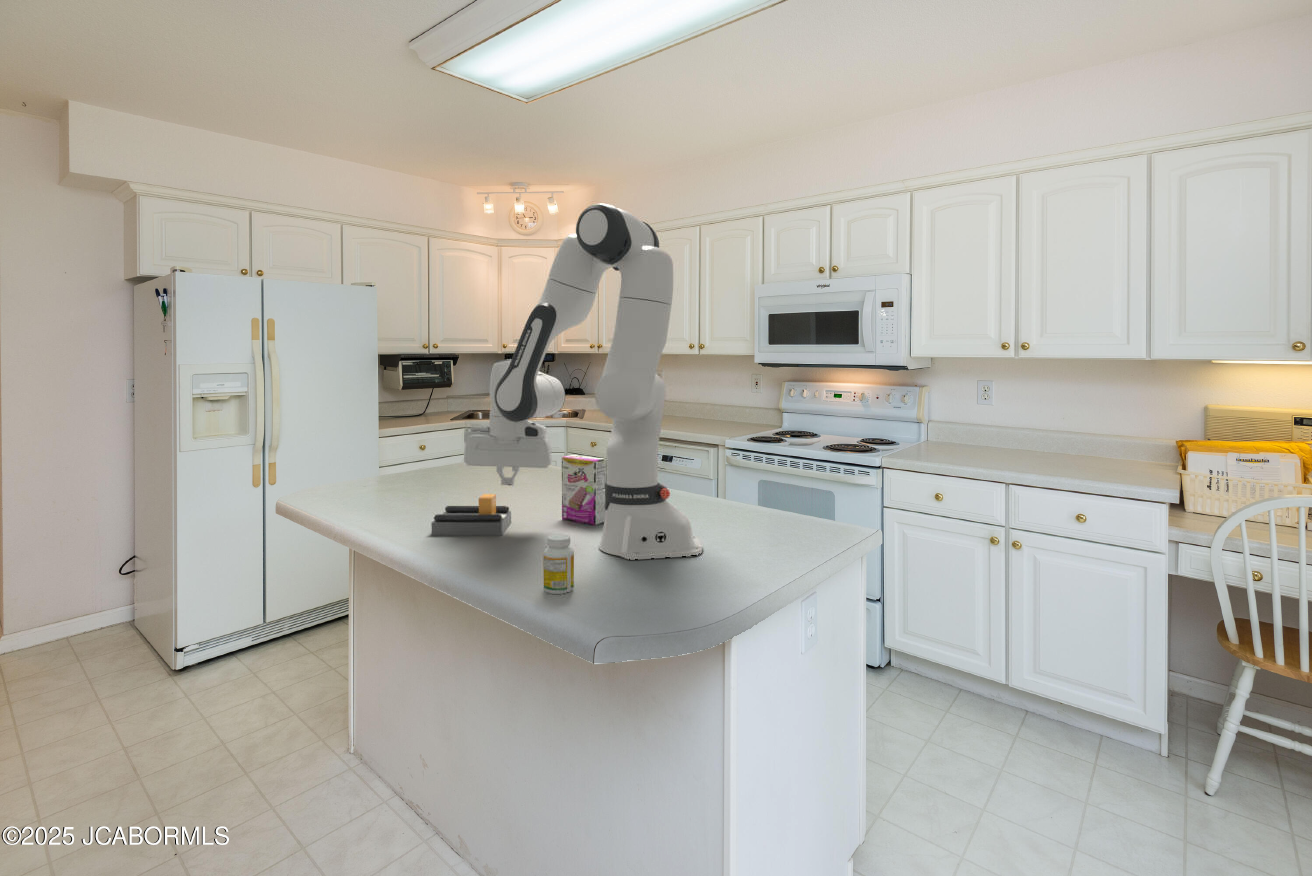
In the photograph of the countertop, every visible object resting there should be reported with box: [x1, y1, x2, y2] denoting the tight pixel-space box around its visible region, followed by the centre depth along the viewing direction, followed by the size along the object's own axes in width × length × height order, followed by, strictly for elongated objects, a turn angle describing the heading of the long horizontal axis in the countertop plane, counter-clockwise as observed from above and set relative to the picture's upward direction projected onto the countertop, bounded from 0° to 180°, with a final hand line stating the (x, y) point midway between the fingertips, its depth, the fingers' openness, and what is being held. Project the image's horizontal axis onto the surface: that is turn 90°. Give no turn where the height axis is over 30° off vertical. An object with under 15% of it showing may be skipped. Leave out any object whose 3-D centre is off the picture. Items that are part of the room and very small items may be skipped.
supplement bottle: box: [542, 533, 575, 595], centre depth 113 cm, size 5×5×10 cm
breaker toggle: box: [478, 493, 497, 514], centre depth 153 cm, size 3×5×4 cm, turn 2°
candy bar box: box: [561, 454, 607, 526], centre depth 162 cm, size 11×5×16 cm, turn 58°
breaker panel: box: [430, 505, 512, 537], centre depth 154 cm, size 16×12×5 cm
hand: (507, 485), depth 153 cm, fingers closed
